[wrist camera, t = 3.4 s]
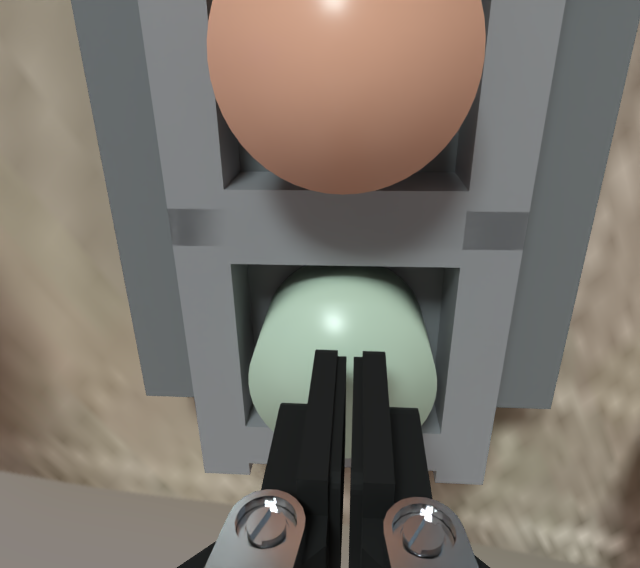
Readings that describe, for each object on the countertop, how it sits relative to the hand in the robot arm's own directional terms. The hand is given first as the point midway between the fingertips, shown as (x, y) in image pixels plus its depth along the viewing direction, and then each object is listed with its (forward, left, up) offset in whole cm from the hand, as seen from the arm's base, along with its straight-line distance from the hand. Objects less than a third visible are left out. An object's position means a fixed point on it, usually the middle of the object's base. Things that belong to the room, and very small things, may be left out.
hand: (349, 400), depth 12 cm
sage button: (0, 0, -4) cm, 4 cm away
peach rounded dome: (0, -8, -3) cm, 8 cm away
